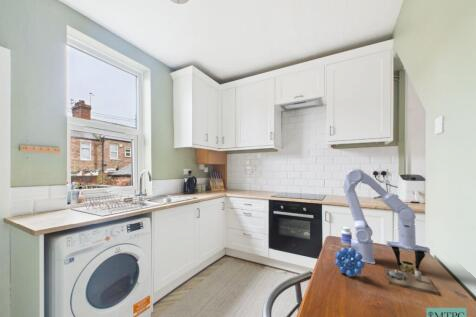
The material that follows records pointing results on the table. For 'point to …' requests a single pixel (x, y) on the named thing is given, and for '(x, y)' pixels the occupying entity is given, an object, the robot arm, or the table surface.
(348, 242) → the pill bottle
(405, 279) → the gear board
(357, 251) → the robot arm
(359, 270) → the grapes
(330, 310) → the table surface
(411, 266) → the gear
